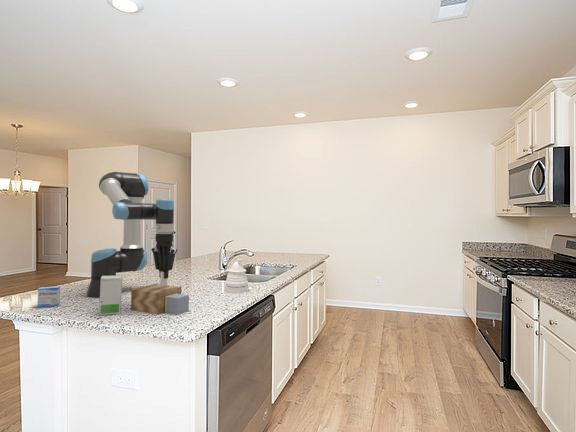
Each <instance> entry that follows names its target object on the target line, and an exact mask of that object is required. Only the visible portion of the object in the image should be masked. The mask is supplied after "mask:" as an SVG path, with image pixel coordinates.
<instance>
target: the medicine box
mask: <svg viewBox="0 0 576 432" xmlns="http://www.w3.org/2000/svg"><path fill="white" fill-rule="evenodd" d="M60 304H61V286H60V285H55V286H54V285H53V286H43V287H42V286H41V287H39V288H37V308H38V309H43V308H42V307H46V308H54V306H57V307H59V306H60Z"/></svg>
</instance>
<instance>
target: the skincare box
mask: <svg viewBox="0 0 576 432" xmlns="http://www.w3.org/2000/svg"><path fill="white" fill-rule="evenodd" d="M122 293H123V275H116V276H102V277H101V285H100V297H99V308H98V309H99V311H98V315H99V316H105V315H106V316H107V315H120V314H121V313H122V312H121V311H122V296H123V295H122Z"/></svg>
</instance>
